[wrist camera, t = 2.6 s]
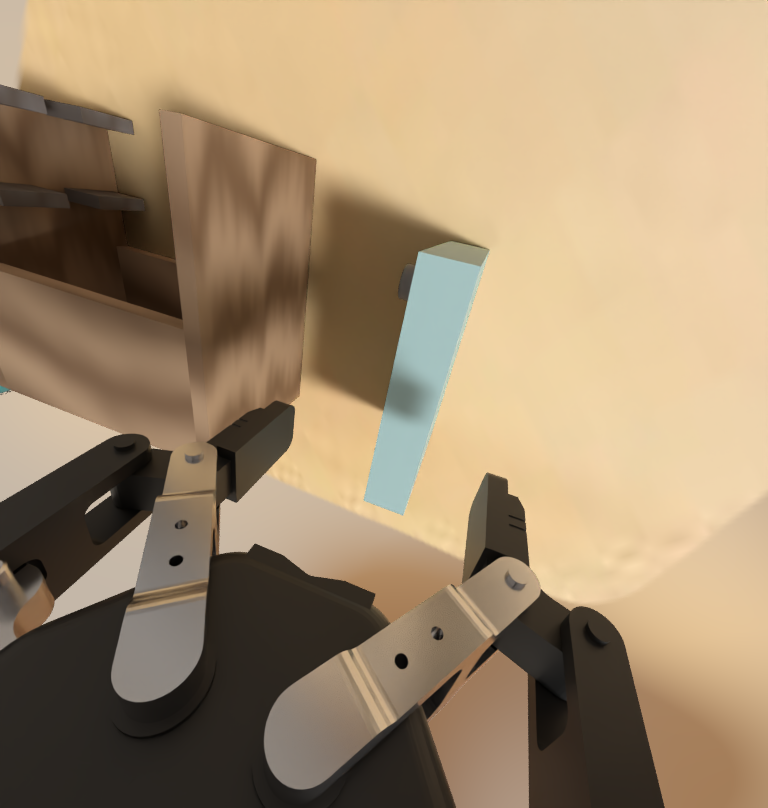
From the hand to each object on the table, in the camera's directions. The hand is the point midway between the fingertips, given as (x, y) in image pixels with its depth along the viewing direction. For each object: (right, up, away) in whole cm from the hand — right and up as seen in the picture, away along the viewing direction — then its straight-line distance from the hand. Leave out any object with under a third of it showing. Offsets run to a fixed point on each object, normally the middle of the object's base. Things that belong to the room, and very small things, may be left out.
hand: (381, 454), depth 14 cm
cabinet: (-14, +13, +14) cm, 24 cm away
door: (+4, +6, +12) cm, 14 cm away
